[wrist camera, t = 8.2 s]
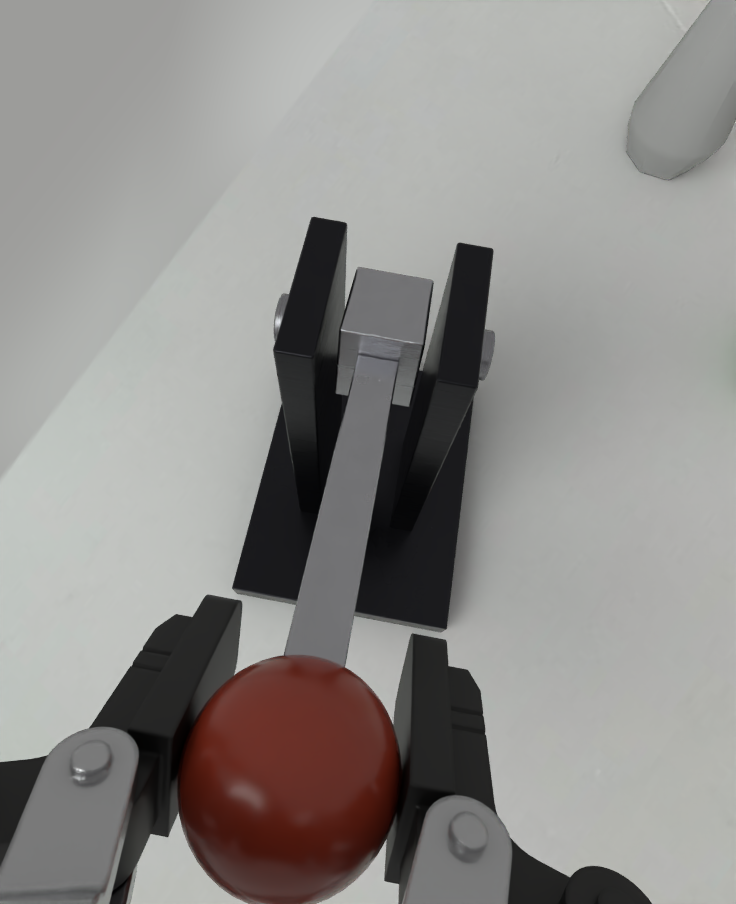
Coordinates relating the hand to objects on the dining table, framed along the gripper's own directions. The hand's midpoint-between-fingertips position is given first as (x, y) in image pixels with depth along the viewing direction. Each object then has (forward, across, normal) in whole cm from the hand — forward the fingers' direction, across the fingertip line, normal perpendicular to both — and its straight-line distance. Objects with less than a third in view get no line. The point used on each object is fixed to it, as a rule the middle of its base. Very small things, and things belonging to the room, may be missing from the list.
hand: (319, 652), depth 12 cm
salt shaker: (+34, -15, -15) cm, 40 cm away
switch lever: (+3, 0, -1) cm, 3 cm away
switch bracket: (+15, 0, +3) cm, 15 cm away
